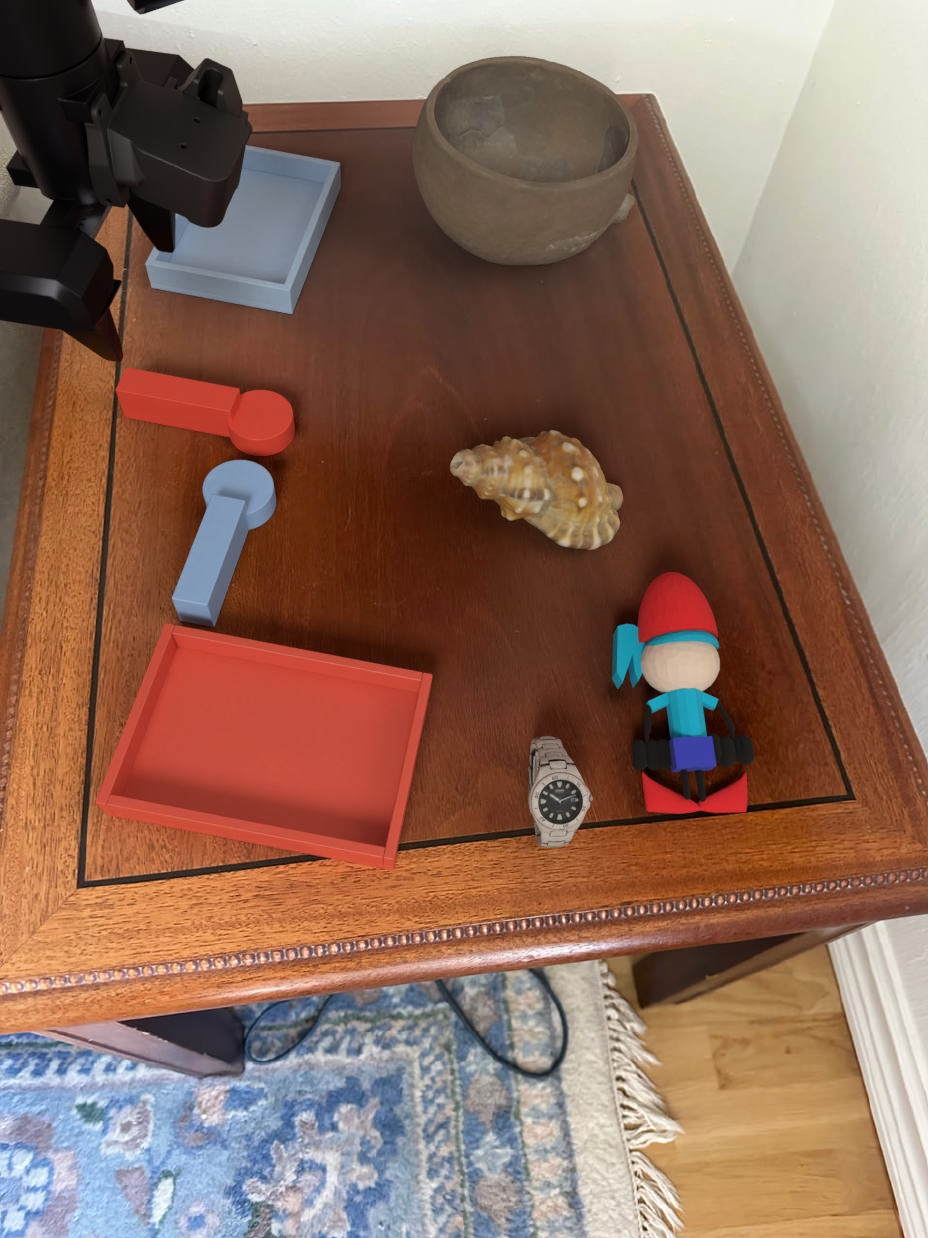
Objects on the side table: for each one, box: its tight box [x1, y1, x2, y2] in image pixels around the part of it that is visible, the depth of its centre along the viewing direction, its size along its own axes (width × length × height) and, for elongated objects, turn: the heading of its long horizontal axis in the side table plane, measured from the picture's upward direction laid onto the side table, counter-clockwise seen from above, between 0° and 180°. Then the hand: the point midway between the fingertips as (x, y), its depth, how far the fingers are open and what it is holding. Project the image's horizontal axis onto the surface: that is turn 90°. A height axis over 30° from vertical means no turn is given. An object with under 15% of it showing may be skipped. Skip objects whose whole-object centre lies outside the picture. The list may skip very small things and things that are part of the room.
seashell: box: [449, 429, 624, 551], centre depth 60 cm, size 9×8×10 cm
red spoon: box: [115, 366, 296, 457], centre depth 63 cm, size 12×5×3 cm, turn 80°
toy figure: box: [611, 571, 755, 815], centre depth 55 cm, size 8×5×15 cm
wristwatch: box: [527, 735, 594, 849], centre depth 50 cm, size 4×6×5 cm, turn 4°
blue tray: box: [144, 144, 342, 315], centre depth 73 cm, size 16×11×2 cm
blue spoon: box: [171, 459, 277, 628], centre depth 58 cm, size 12×5×3 cm, turn 170°
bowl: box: [411, 55, 639, 267], centre depth 73 cm, size 17×18×10 cm
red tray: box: [95, 622, 434, 871], centre depth 52 cm, size 16×11×2 cm
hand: (141, 302), depth 55 cm, fingers open, 9 cm apart
